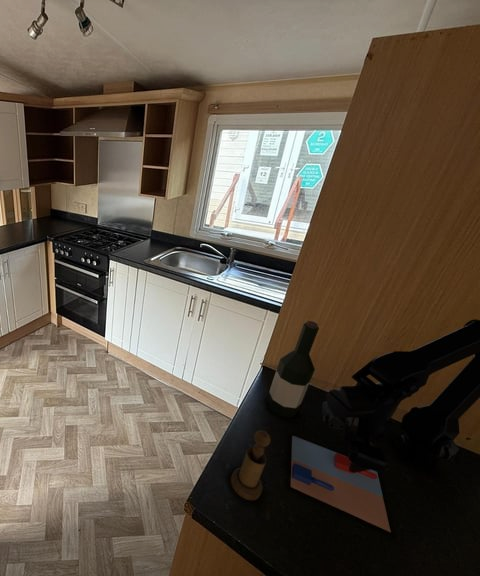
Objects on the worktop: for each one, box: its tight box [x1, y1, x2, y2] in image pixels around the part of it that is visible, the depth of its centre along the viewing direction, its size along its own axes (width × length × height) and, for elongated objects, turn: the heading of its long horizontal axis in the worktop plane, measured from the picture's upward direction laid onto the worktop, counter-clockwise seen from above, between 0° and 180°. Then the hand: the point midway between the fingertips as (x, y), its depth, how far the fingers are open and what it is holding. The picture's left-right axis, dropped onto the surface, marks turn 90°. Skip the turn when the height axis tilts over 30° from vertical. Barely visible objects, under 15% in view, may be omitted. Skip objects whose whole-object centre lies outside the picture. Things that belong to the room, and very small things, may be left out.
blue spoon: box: [292, 463, 334, 491], centre depth 73 cm, size 8×3×2 cm, turn 59°
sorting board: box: [290, 435, 392, 533], centre depth 74 cm, size 18×16×1 cm
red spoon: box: [334, 452, 377, 479], centre depth 75 cm, size 8×3×2 cm, turn 59°
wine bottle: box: [265, 320, 320, 418], centre depth 87 cm, size 8×8×30 cm
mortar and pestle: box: [230, 429, 272, 501], centre depth 69 cm, size 7×6×18 cm
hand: (349, 455), depth 75 cm, fingers open, 9 cm apart
